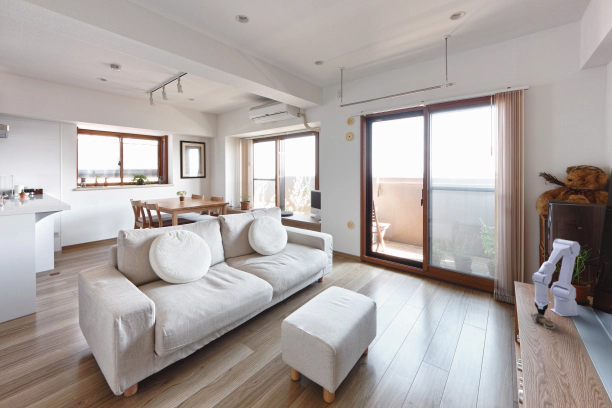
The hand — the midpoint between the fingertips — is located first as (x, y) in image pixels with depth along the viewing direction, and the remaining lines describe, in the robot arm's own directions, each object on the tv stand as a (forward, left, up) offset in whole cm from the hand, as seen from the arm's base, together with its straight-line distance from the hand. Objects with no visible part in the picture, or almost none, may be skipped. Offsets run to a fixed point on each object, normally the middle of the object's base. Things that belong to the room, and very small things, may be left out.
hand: (541, 315), depth 153 cm
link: (+3, +4, -1) cm, 5 cm away
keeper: (+4, +3, -2) cm, 5 cm away
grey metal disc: (+2, +8, -2) cm, 8 cm away
